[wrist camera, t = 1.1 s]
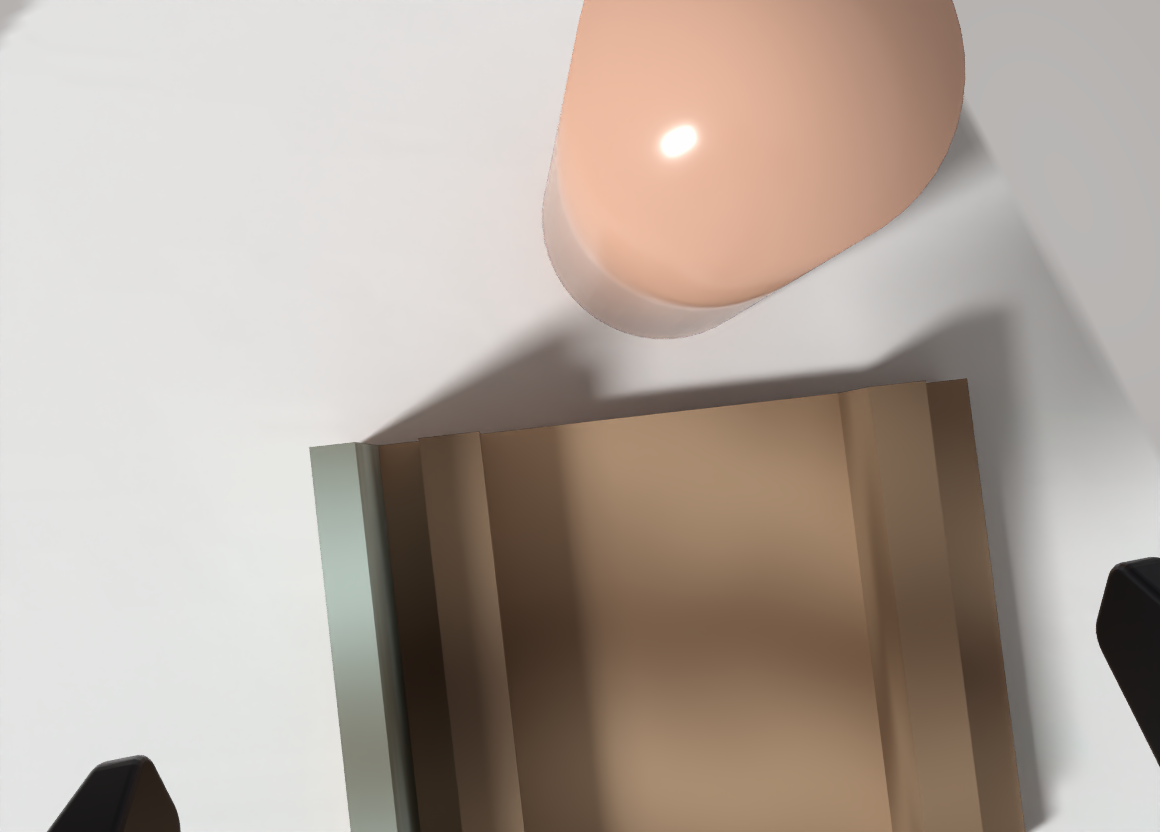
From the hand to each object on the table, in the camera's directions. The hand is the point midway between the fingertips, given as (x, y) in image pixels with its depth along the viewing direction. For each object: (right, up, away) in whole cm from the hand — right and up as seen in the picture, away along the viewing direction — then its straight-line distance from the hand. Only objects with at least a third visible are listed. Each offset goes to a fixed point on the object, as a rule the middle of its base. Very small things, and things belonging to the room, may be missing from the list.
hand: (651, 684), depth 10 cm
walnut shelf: (+2, -3, +15) cm, 15 cm away
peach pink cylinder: (+1, +7, +15) cm, 17 cm away
